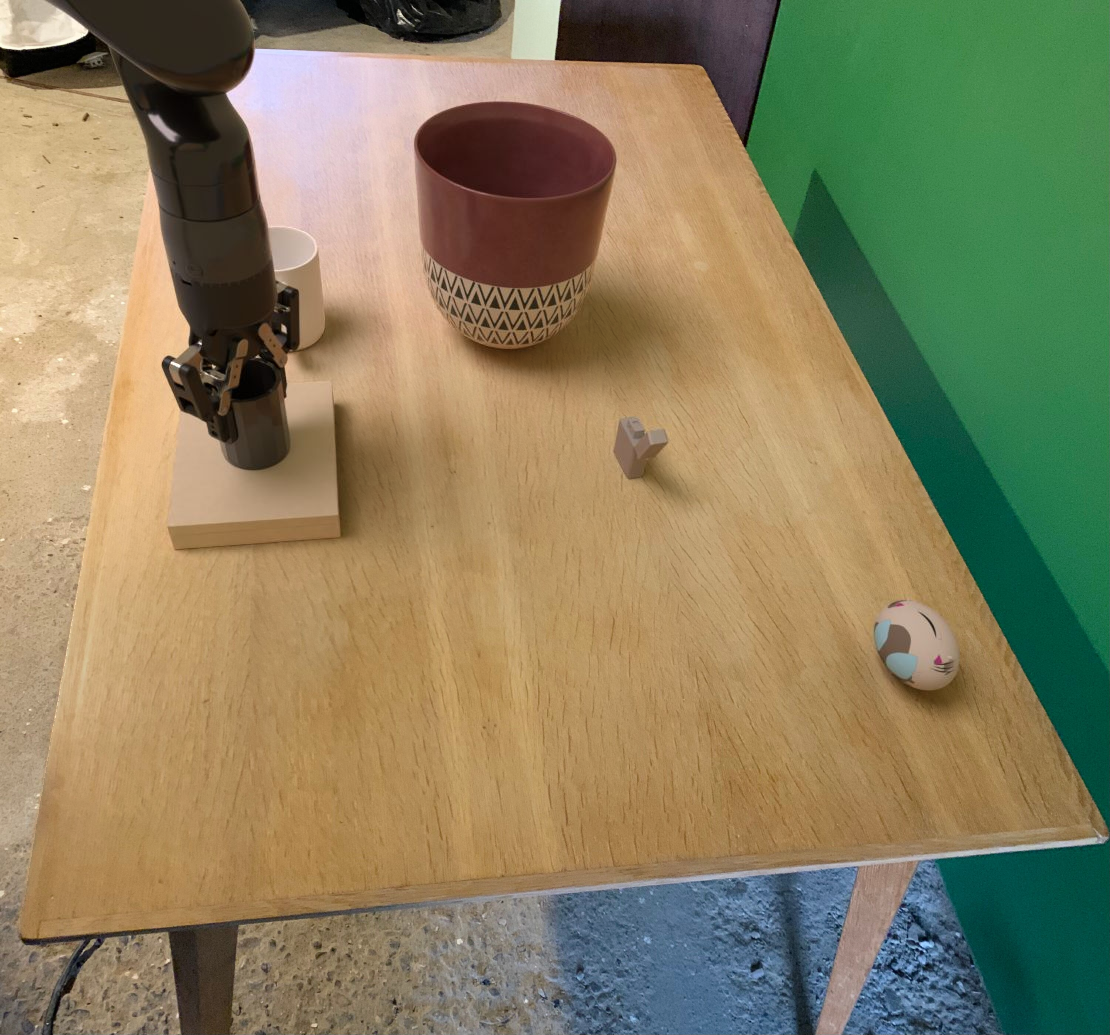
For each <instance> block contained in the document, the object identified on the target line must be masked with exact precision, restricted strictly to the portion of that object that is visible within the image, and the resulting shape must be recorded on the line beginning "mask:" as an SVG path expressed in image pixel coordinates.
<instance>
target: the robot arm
mask: <svg viewBox="0 0 1110 1035" xmlns="http://www.w3.org/2000/svg"><path fill="white" fill-rule="evenodd" d="M44 1H45V2H47V3H48V4H49V5H51V6H53V7H54V8H56V9H58V10H60V11H62V12H63V13H64V14H66V15H68V16H69V17H70V18H72V19H73V20H74V21H76V22H77V23H78V24H79V25H81V26H82V27H83V28H84V29H86V31H88V32H90V33H91V34H92V35H94V36H96V37H97V38H98V39H99V40H100V41H102V42H103V43H105V44H106V45H107V46H108V49H109V52H110V55H111V58H112V61H113V63H114V65H115V69H116V71H117V73H118V76H119V79H120V81H121V84H122V87H123V89H124V91H125V94H126V97H127V99H128V101H129V104H130V106H131V109H132V111H133V114H134V116H135V118H136V120H137V123H138V125H139V128H140V131H141V133H142V135H143V139H144V142H145V147H146V154H147V160H148V164H149V168H150V173H151V177H152V181H153V185H154V189H155V190H154V191H155V194H156V195H155V196H156V199H157V204H158V211H159V214H158V215H159V226H160V232H161V238H162V241H163V246H164V251H165V255H166V260H167V263H168V268H169V272H170V275H171V281H172V284H173V288H174V289H173V290H174V293H175V297H176V302H177V306H178V308H179V310H180V312H181V314H182V315H183V317H184V319H185V320H186V322H187V324H188V326H189V336H188V342H187V343H188V347H187V348H186V349H185V350H184V351H183V352H182V353H181V354H179V355H178V357H177V358H176V357H175V356H172V355H166V356H164V358H163V359H162V361H161V369H162V371H163V373H164V376H165V378H166V381H167V383H168V385H169V387H170V389H171V392H172V394H173V397H174V399H175V401H176V404H177V406H178V408H179V411H180V410H181V411H182V412H185V413H188V414H190V415H192V416H194V417H197V418H199V419H200V420H202V421H204V422H206V424H207V428H208V433H209V435H210V436H211V437H213V438H215V439H217V440H219V441H221V442H223V443H227V444H229V445H232V444H233V443H234V442H235V441H236V440H237V439H238V437H237V432H236V427H235V422H234V417H233V412H232V409H230V403H231V397H232V391H233V389H236V388H237V387H238V386H239V381H240V375H241V369H242V367H243V366H244V365H245V364H246V363H247V362H248V360H250V359H252V358H261V359H264V360H266V361H269V362H271V363H273V364H274V365H275V366H276V367H277V369H278V370H279V371H280V375H281V381H282V388H283V394H284V399H285V398H286V397H287V395H286V389H287V383H288V380H287V374H286V367H285V366H286V365H287V364H288V359H289V357H288V354H289V351H290V350H292V351H290V352H296V351H295V350H297V349H298V347H299V344H300V323H299V291H298V289H296V288H293V287H291V286H288V285H286V284H284V283H281V282H279V281H276V279H275V272H274V265H273V258H272V251H271V244H270V237H269V230H268V226H269V224H268V219H267V214H266V211H265V209H264V205H263V201H262V196H261V191H260V184H259V176H258V170H257V163H256V157H255V150H254V145H253V141H252V137H251V134H250V131H249V128H248V126H247V124H246V122H245V121H244V119H243V117H242V116H241V115H240V114H239V112H238V110H237V109H236V108H235V107H234V105H233V104H232V102H231V100H230V98H229V96H228V94H227V93H230V92H231V91H233V90H234V89H236V88H238V87H239V85H241V84H242V83H243V81H245V79H246V78H247V77H248V75H249V73H250V71H251V70H252V66H253V64H254V61H255V56H256V55H255V54H256V38H255V32H254V27H253V24H252V20H251V18H250V16H249V14H248V11H247V10H246V8H245V6H244V4H243V3H242V1H241V0H44ZM282 325H284V326H285V327H286V332H287V333H285V332H283V331H282ZM297 351H298V350H297ZM214 367H218V368H220V369H223V370H225V371H226V375H224V374H221V373H219V372H217V371H215V370H214ZM213 385H214V386H216V387H217V388H218V395H217V397H216V396H214V395H212V389H213Z"/></svg>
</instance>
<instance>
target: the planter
mask: <svg viewBox="0 0 1110 1035" xmlns="http://www.w3.org/2000/svg"><path fill="white" fill-rule="evenodd" d="M413 156H414V157H413V158H414V176H415V186H416V199H417V217H418V229H419V231H418V232H419V242H420V253H421V254H420V255H421V264H422V271H423V275H424V279H425V283H426V286H427V289H428V292H429V294H430V298H431V299H432V301H433V303H434V305H435V308H436V309H437V310H438V312H439V314H440V315H441V316H442V317H443V318H444V320H446V322H447V323H448V324H449V325H450V326H451V327H452V328H454V329H455V330H456V331H457V332H458V333H460V334H461V335H463V336H464V337H466V338H468V339H469V340H471V341H473V342H476V343H478V344H481V345H483V346H486V347H490V348H494V349H502V350H515V349H523V348H527V347H532V346H534V345H537V344H539V343H543V342H544V341H546V340H548V339H550V338H551V337H553V336H555V335H556V334H558V333H559V332H560V331H562V330H563V329H564V328H565V327H566V326H567V325H569V323H570V322H571V321H572V320H573V318H575V316H576V314H577V313H578V311H579V310H580V308H581V306H582V304H583V302H584V300H585V299H586V296H587V293H588V291H589V289H590V286H591V283H592V280H593V276H594V271H595V268H596V262H597V258H598V253H599V250H600V245H601V240H602V236H603V230H604V225H605V220H606V217H607V212H608V206H609V202H610V198H611V193H612V189H613V184H614V179H615V173H616V167H617V159H618V158H617V153H616V150H615V147H614V145H613V143H612V142H611V140H610V139H609V138H608V137H607V136H606V135H605V134H604V133H603V132H602V131H601V130H600V129H599V128H597V127H595V126H594V125H593V124H591V123H589V122H587V121H586V120H584V119H582V118H580V117H578V116H576V115H573V114H570V113H568V112H565V111H562V110H559V109H557V108H553V107H548V106H545V105H540V104H534V103H528V102H519V101H503V100H501V101H479V102H472V103H465V104H461V105H457V106H453V107H450V108H447V109H445V110H442V111H440V112H438V113H436V114H433V115H432V116H431V117H429V118H428V119H427V120H425V121H424V122H423V123H422V124H421V125H420V126H419V128H418V129H417V130H416V133H415V135H414V139H413Z"/></svg>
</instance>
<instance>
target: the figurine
mask: <svg viewBox="0 0 1110 1035" xmlns="http://www.w3.org/2000/svg"><path fill="white" fill-rule="evenodd" d="M875 618H876V619H875V622H874V627H873V639H874V645H875V649H876V651H877V653H878V656H879V659H881V661H882V663H883V664H884V666H885V667H886V669H887V670H888V672H889V673H890V675H893V676H894V677H895V678H896V679H898V680H899V681H900V682H902V683H903V684H905V685H907V686H909V687H911V688H914V689H917V690H921V691H935V690H936V691H937V690H940V689H942V688H945V687H946V686H947V685H950V683H951V682H952V681H953V680H954V679H955V677H956V675H957V673H958V671H959V669H960V661H961V653H960V647H959V644H958V641H957V638H956V635H955V633H954V632H953V629H952V628H951V627H950V624H948V623H947V621H946V620H945V619H944V618H943V617H942V616H941V615H940V614H939V612H937V611H936V610H935V609H933V608H931V607H929V606H928V605H926V604H925V603H921V602H919V601H916V600H910V597H909V596H907V597H906V599H901V600H900V599H899V600H895V601H892V602H890V603H888V604H886V606H884V607H883V608H882V609H881V610H880V612H879V613H878V614H877V616H876V617H875Z"/></svg>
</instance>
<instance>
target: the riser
mask: <svg viewBox="0 0 1110 1035" xmlns="http://www.w3.org/2000/svg"><path fill="white" fill-rule="evenodd" d="M286 395H287V397H286V398H285V399H284V401H285V408H286V415H287V422H288V428H289V435H290V444H291V446H290V451H289V453H288V455H287V456H286V457H285V458H284V459H283V460H282V461H281V462H280V463H278V464H276V465H274V466H272V467H270V468H266V469H262V470H244V469H240V468H237V467H235V466H233V465H231V464H230V463H229V462H228V461H227V460H226V459H225V458H224V456H223V453H222V450H221V446H220V441H219V440H217V439H215V438H213V437H211V436H210V435H209V433H208V428H207V424H206V422H204V421H202V420H200V419H199V418H197V417H194V416H192V415H190V414H188V413H185V412H182V411H181V410H180V409H179V414H178V415H179V416H178V425H177V433H176V443H175V451H174V459H173V460H174V461H173V467H172V468H173V469H172V479H171V487H170V497H169V505H168V514H167V523H166V527H167V532H168V534H169V538H170V541H171V544H172V548H173V550H184V549H186V550H187V549H199V548H211V547H212V548H213V547H228V546H239V545H242V546H243V545H251V544H252V545H253V544H266V543H269V544H270V543H282V542H294V541H308V540H323V539H334V538H335V539H336V538H341V534H342V533H341V519H340V518H341V517H340V508H339V489H338V488H339V487H338V470H337V469H338V468H337V448H336V446H337V445H336V430H335V429H336V428H335V417H336V415H335V414H336V412H335V397H334V388H333V381H332V380H317V381H315V380H314V381H293V382H290V381H289V382H288V381H287V389H286Z"/></svg>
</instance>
